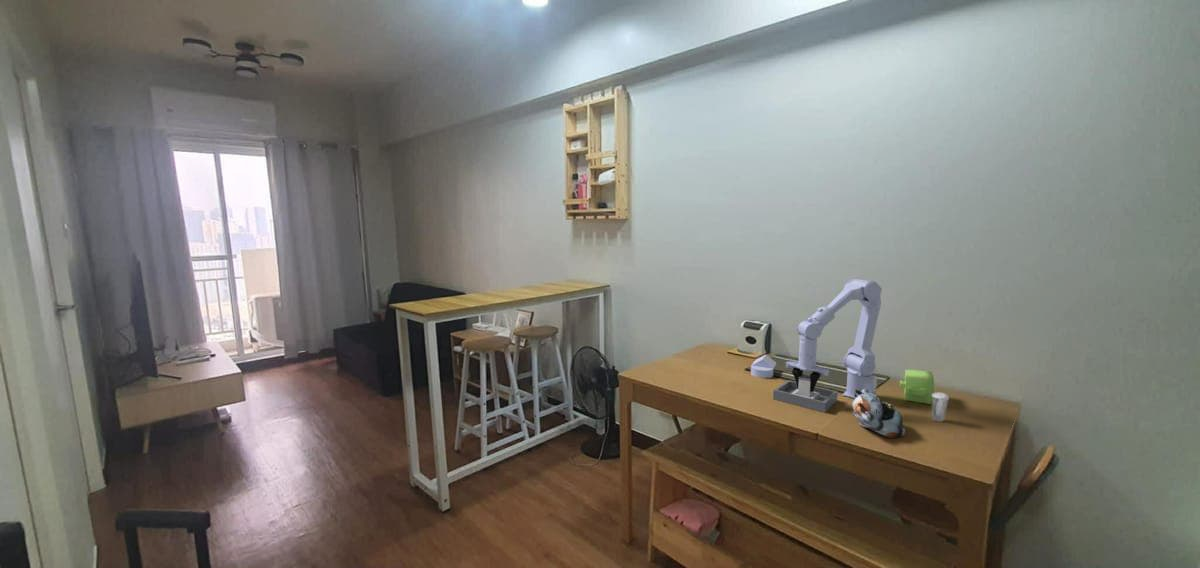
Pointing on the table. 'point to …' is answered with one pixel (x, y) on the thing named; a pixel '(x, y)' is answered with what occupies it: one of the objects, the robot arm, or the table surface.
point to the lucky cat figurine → (877, 414)
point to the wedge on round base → (763, 367)
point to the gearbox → (918, 386)
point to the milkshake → (939, 406)
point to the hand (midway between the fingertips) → (805, 389)
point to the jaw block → (804, 386)
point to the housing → (817, 401)
